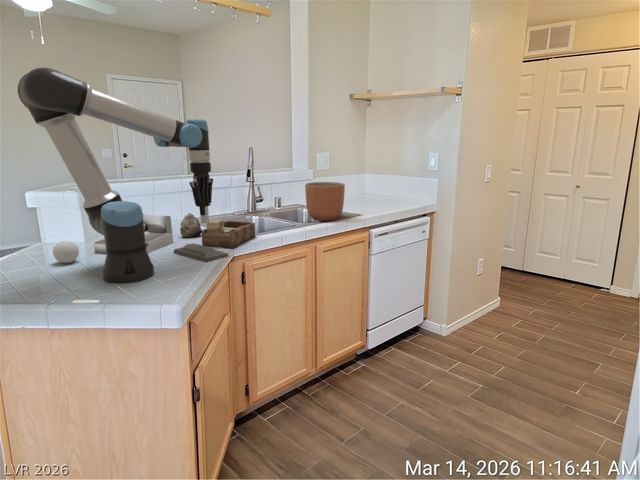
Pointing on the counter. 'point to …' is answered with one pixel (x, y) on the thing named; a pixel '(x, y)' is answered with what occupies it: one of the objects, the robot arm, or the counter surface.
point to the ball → (66, 251)
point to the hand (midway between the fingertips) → (205, 222)
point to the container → (149, 233)
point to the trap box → (230, 235)
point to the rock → (190, 226)
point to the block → (215, 227)
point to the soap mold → (200, 252)
